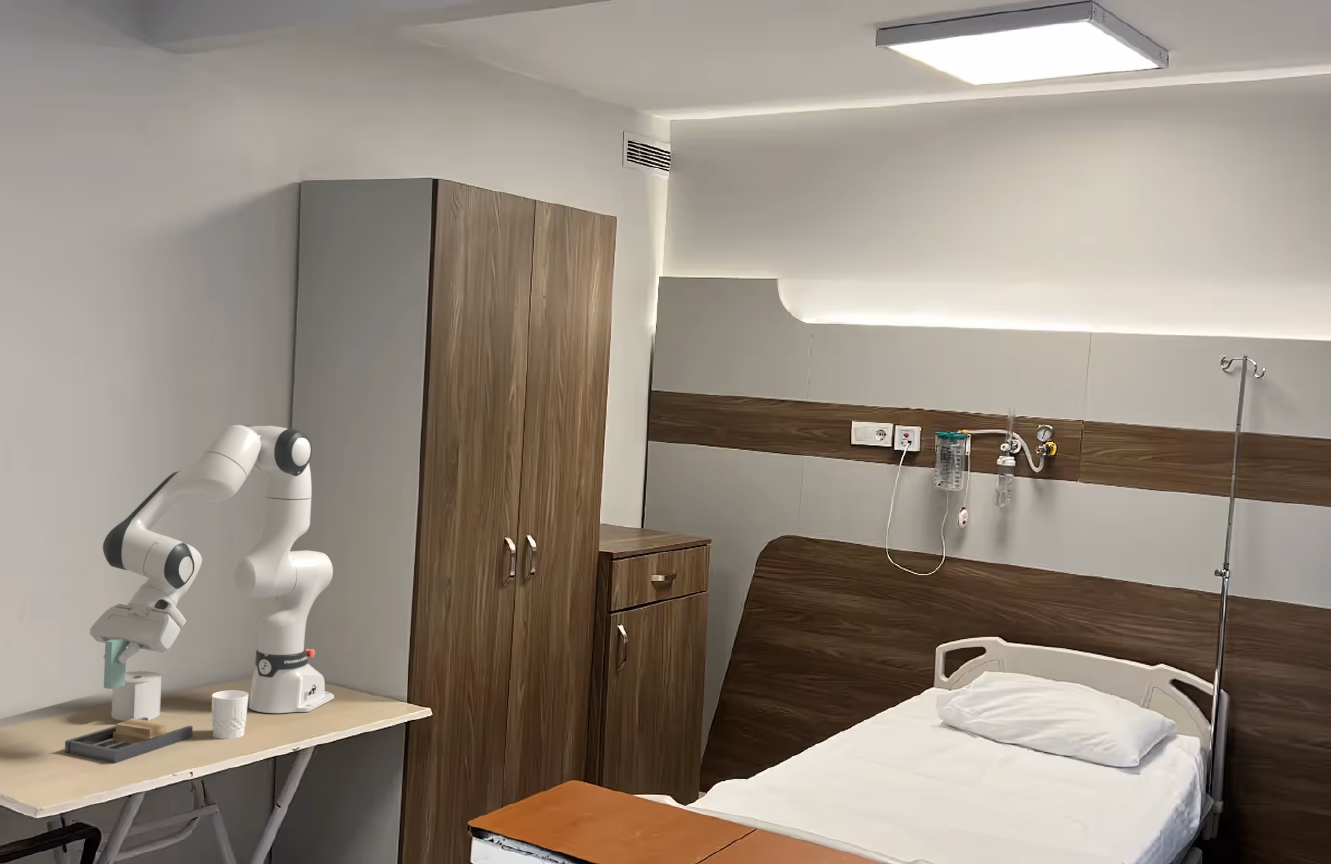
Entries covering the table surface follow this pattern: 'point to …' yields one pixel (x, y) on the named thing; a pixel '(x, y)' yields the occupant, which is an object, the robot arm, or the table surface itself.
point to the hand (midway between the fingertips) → (113, 660)
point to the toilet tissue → (137, 696)
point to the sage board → (114, 664)
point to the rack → (121, 744)
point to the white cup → (229, 713)
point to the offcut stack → (138, 730)
